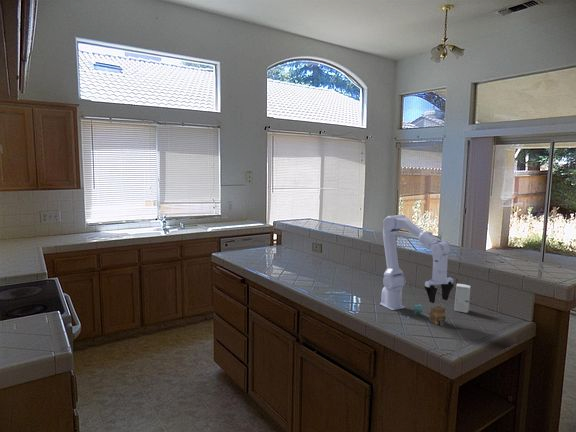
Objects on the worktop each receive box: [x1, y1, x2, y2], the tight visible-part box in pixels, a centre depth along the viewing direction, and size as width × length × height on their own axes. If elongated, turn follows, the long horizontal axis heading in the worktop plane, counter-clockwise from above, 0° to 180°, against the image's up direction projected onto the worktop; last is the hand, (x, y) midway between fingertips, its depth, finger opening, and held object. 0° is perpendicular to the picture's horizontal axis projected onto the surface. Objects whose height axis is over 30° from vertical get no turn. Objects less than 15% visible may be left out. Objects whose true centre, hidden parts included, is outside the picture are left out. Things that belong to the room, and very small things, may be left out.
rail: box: [413, 303, 448, 327], centre depth 169 cm, size 16×3×4 cm, turn 26°
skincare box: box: [453, 283, 472, 314], centre depth 179 cm, size 6×4×12 cm
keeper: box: [428, 305, 446, 325], centre depth 166 cm, size 4×5×6 cm
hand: (438, 301), depth 165 cm, fingers open, 7 cm apart
